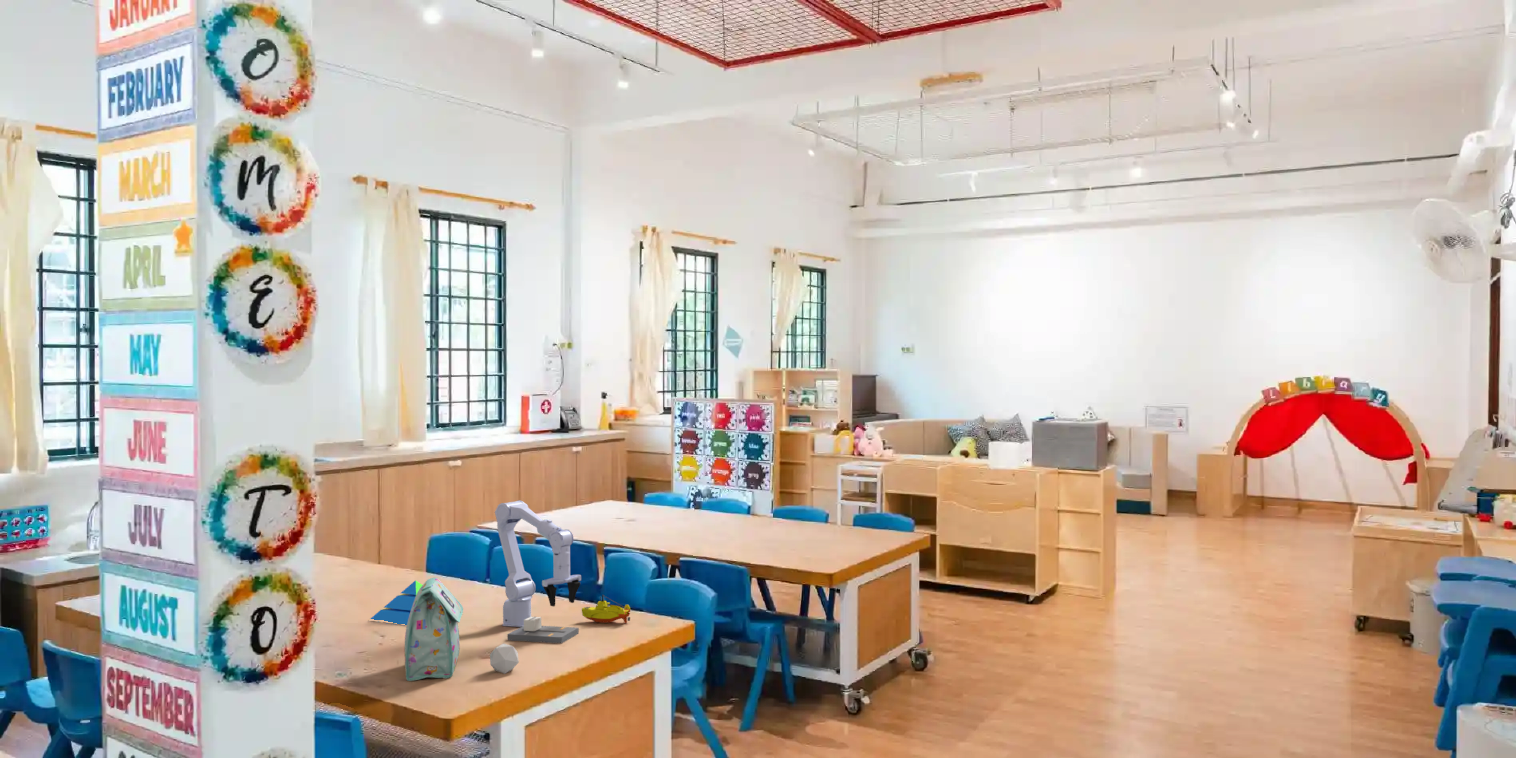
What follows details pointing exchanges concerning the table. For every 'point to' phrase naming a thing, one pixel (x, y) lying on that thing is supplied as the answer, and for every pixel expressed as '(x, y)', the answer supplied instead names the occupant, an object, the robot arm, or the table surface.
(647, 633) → the table surface
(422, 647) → the lunch bag
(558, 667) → the table surface
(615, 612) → the toy boat
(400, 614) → the pyramid toy
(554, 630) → the console board
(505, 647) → the die
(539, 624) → the fader tab
